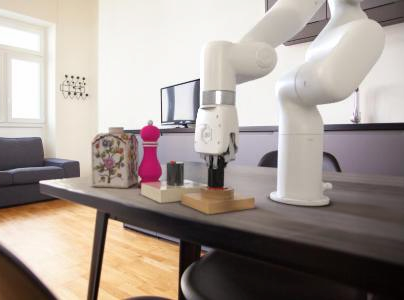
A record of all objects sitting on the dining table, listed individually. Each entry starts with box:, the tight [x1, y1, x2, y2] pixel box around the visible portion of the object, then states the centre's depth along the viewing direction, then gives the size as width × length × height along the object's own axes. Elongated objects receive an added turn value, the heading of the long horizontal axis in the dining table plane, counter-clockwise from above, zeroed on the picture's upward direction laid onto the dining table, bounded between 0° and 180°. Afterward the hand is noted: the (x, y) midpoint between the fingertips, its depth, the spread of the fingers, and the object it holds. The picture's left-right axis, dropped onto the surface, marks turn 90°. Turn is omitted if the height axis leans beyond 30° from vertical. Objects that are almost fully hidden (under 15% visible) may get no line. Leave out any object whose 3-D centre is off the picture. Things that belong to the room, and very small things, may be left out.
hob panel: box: [140, 179, 207, 204], centre depth 74 cm, size 14×11×3 cm
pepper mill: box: [138, 119, 163, 188], centre depth 87 cm, size 7×7×20 cm
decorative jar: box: [90, 126, 140, 189], centre depth 91 cm, size 12×12×18 cm
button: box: [208, 185, 227, 190], centre depth 64 cm, size 4×4×2 cm
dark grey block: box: [166, 160, 185, 186], centre depth 74 cm, size 4×4×6 cm
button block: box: [181, 184, 255, 215], centre depth 64 cm, size 12×10×4 cm
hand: (215, 186), depth 64 cm, fingers closed
